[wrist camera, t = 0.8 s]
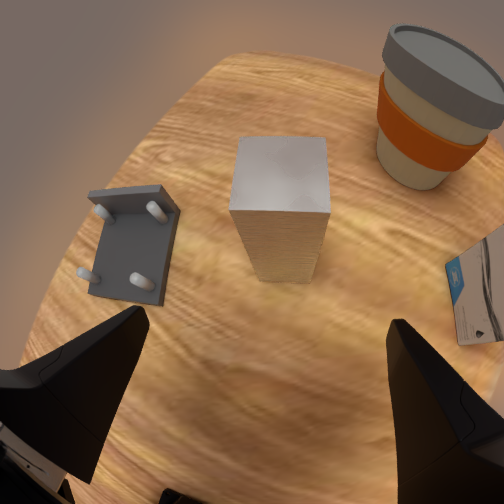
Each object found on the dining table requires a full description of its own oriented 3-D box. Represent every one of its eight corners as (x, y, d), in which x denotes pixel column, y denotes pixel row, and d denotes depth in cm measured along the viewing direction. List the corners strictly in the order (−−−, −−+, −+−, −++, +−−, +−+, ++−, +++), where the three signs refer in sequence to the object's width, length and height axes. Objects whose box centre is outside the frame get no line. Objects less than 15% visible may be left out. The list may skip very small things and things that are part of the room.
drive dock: (162, 306, 24) (136, 295, 20) (93, 295, 26) (62, 283, 21) (180, 210, 28) (161, 184, 23) (113, 212, 29) (89, 190, 24)
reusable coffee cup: (463, 212, 23) (536, 127, 9) (365, 196, 25) (410, 74, 11) (440, 132, 27) (478, 48, 13) (356, 115, 29) (372, 12, 15)
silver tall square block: (309, 283, 23) (330, 212, 11) (259, 281, 24) (228, 209, 12) (310, 236, 25) (325, 137, 13) (263, 235, 25) (239, 136, 13)
